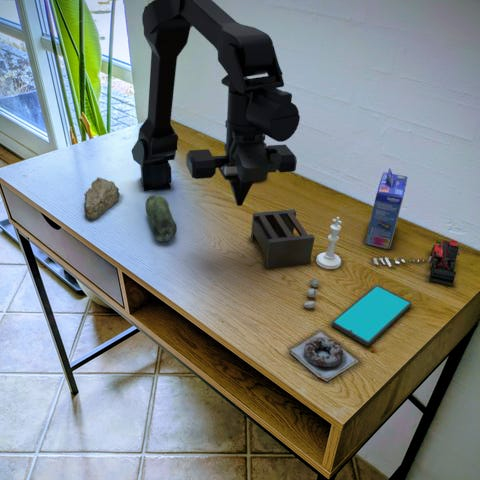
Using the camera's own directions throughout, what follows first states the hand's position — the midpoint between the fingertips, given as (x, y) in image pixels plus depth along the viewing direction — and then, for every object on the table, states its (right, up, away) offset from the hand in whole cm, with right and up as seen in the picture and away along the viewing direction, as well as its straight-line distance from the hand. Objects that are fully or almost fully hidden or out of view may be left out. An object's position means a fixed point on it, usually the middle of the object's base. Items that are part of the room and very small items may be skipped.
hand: (238, 204), depth 92 cm
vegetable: (-19, -1, +10) cm, 21 cm away
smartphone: (+23, -21, -5) cm, 32 cm away
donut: (+14, -27, -13) cm, 33 cm away
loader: (+41, -11, +7) cm, 43 cm away
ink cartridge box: (+30, -3, +15) cm, 34 cm away
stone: (-32, +7, +15) cm, 36 cm away
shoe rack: (+8, -7, +9) cm, 14 cm away
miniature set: (+33, -10, +8) cm, 35 cm away
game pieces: (+14, -17, -3) cm, 22 cm away
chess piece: (+18, -10, +7) cm, 22 cm away
